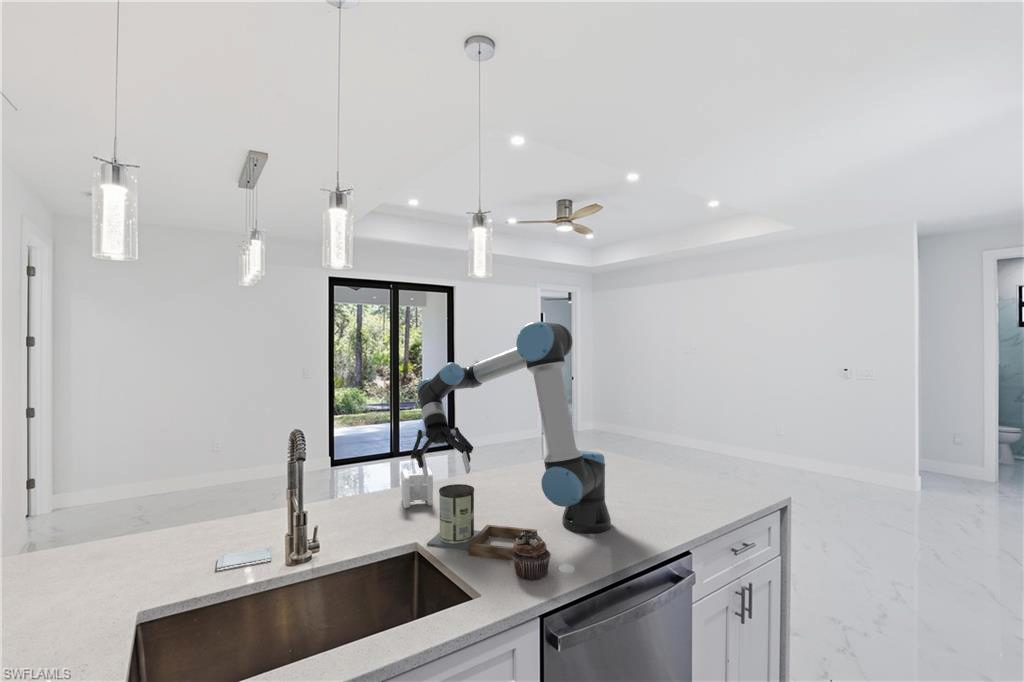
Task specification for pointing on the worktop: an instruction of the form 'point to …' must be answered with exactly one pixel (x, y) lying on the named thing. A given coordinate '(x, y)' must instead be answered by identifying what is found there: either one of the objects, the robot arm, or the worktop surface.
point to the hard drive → (243, 557)
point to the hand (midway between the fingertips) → (447, 473)
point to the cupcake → (530, 556)
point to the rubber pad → (439, 543)
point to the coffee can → (456, 513)
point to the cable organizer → (416, 487)
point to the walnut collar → (494, 551)
